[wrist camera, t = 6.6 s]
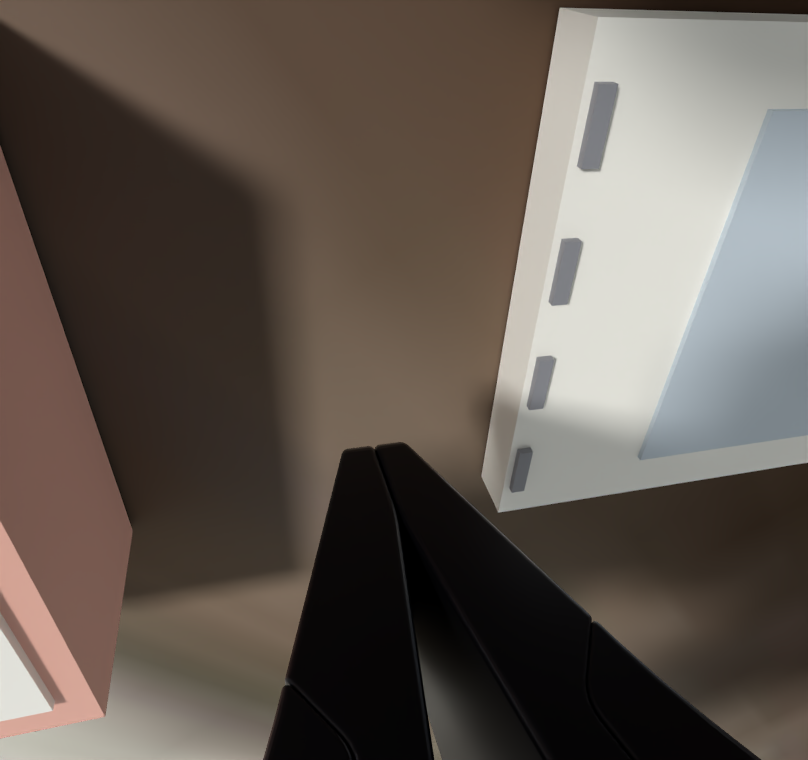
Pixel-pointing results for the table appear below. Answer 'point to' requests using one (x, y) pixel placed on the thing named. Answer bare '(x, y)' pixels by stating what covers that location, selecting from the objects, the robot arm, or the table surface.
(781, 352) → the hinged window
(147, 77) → the table surface
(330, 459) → the table surface
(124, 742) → the table surface
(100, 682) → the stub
